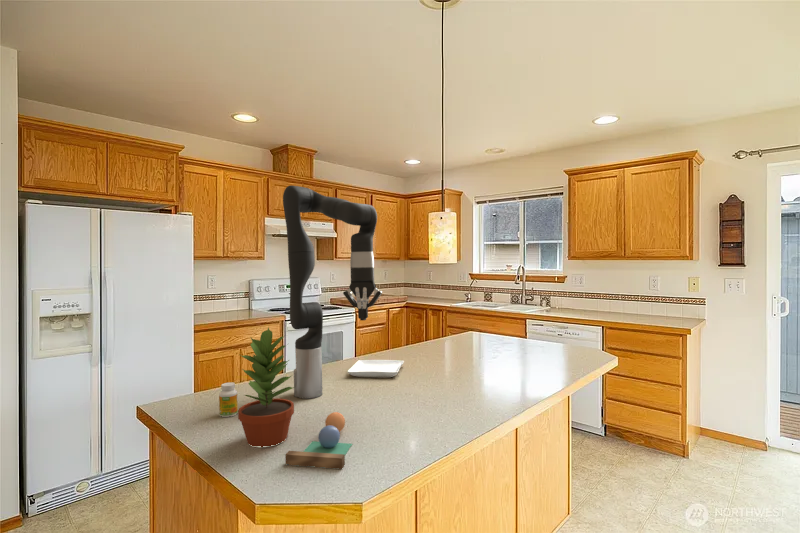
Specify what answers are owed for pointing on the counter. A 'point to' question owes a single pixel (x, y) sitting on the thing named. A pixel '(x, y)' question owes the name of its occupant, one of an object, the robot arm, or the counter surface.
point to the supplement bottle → (228, 400)
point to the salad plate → (375, 368)
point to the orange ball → (335, 420)
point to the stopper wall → (315, 459)
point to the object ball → (329, 436)
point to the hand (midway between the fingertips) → (363, 320)
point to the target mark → (318, 448)
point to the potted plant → (266, 396)
